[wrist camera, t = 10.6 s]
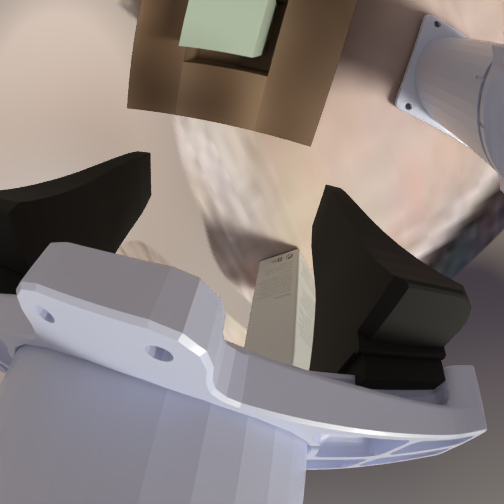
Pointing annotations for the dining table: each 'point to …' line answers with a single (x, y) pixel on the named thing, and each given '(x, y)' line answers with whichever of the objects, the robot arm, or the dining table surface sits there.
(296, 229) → the dining table surface
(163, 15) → the walnut socket block
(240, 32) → the sage peg
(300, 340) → the skincare box
